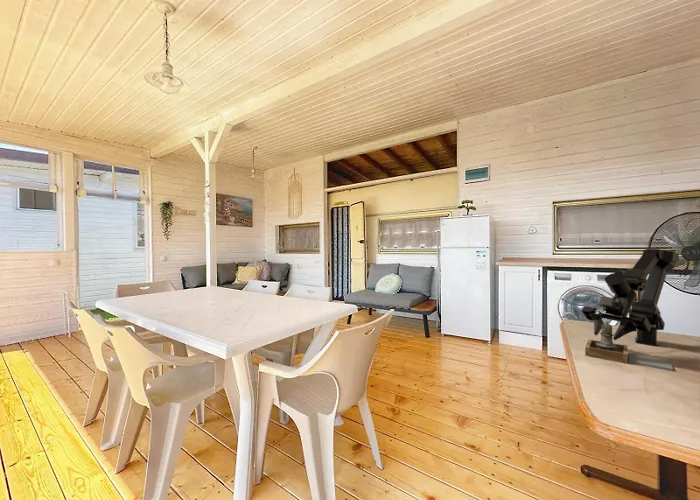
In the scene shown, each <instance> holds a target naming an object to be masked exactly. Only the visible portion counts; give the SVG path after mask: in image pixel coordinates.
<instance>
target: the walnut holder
mask: <svg viewBox="0 0 700 500" xmlns="http://www.w3.org/2000/svg"><path fill="white" fill-rule="evenodd" d="M600 341H601V340H594V339H587V342H586V344H585V346H584V347H585V348H584V349H585V351H584V352H585V353H584V354H585V356H587V357H591V358H596V359H600V360H601V359H602V360H606V361H611V360H612V362H616V361H617V363H621V362H622V363H623V364H628V348H629V347H628V345H625V344H619V343H614V342H613V344H614V345H616V346H617V348H616V351H609V350H603V349H598V347H597V344H596V343H597V342H600Z"/></svg>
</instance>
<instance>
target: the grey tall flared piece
mask: <svg viewBox="0 0 700 500" xmlns="http://www.w3.org/2000/svg"><path fill="white" fill-rule="evenodd" d="M599 333H600V337H601V339H600V340H599V341H600V342H597V343H596V344H597V347H598V349H603V350H609V351H616V348H617V346H616V345H614V344H615V343H614V342H613V337H614V334H613V325H612V324H609V322H608V321H606V322H604V324H602V329H601V332H599ZM613 343H614V344H613Z"/></svg>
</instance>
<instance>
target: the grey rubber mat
mask: <svg viewBox="0 0 700 500" xmlns="http://www.w3.org/2000/svg"><path fill="white" fill-rule="evenodd" d="M628 357H629V358H628V360H629V362H630V364H635V365H640V366H646V367H650V368H656V369H661V370H666V371H670V372H674V367H673V365H672V362H671V359H669V358H665V357H658V356H653V355H647V354H642V353H634V352H629V353H628Z"/></svg>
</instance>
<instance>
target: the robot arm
mask: <svg viewBox="0 0 700 500" xmlns="http://www.w3.org/2000/svg"><path fill="white" fill-rule="evenodd" d="M679 261H680V255H679V254H678V253H677V252H676V251H675V250H663V249H660V248H646V249H644V250H643V251H642V255H641V256H640V257H639V259H638V260H637V261H636V263H635V264H634V266H633V267H632V268H631V269H629V270H626V271H621V270H615V272H612V273H610V274H608V275H606V276H605V278H604V282H605V283H606V285H607V287H608V288H609V290H610V292H611V293H612V294H614V295H613V297H612V296H611V297H610V296H601V297H600V301H599V304H598V306H601V307H602V312H601V311H600V310H598V308H597V307H595V306H588V305H584V306H583V307H582V308H581V312H582V313H581V314H583V316H584V317H585V318H586V319H587V320H588V321H592V322H593V329H594V330H593V333H594V336H598V335H599V333H601V331H602V324H605V322H604V321H603V320H605V319H606V320H610V321H615V322H618V323H619V326H618V327H617V329H616V331H615V333H614V334H613V336H612V340H613V341H616V340H619V339H620V338H622V337H624V336H626V335H627V334H630V333H632V332H636V337H634V341H635V343H636V344H637V343H638V344H644V345H651V346H657V347H659V346H660V344H659V341H658V331H665V325H666V324H665V321H664V320H663V318H662V316H661V314H662V313H661V311H660V309H659V307H658V303H659V299H660V296H661V294H662V290H663V287H664V283H665V280H666V277H667V274H668V273H669V272H671V271H672V270H673V269H675V267H676V265H677V263H679ZM637 292H642V295H641V297H640V300H639V301H638V294H637ZM603 311H604V312H603Z"/></svg>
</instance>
